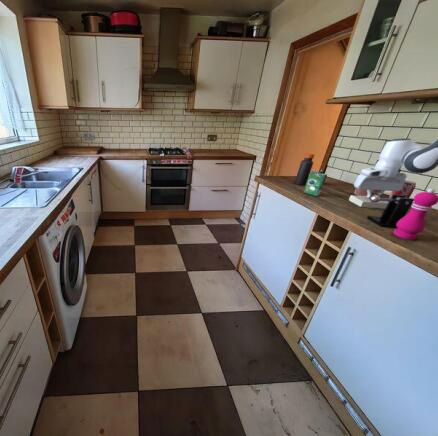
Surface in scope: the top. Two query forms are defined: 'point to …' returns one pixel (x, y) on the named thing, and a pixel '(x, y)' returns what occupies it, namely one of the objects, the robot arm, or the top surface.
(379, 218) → the latch bracket
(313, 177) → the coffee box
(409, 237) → the pepper mill
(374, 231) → the top surface
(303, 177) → the bottle
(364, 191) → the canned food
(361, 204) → the plate
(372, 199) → the metal spoon
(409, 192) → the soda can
